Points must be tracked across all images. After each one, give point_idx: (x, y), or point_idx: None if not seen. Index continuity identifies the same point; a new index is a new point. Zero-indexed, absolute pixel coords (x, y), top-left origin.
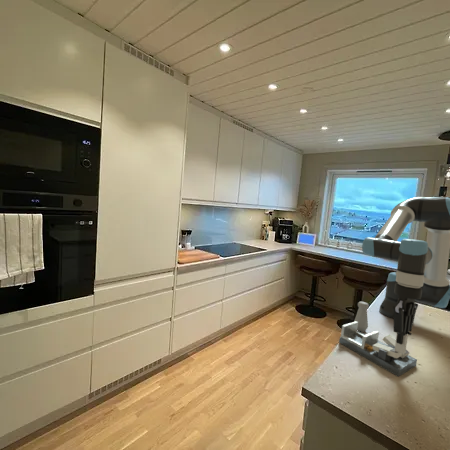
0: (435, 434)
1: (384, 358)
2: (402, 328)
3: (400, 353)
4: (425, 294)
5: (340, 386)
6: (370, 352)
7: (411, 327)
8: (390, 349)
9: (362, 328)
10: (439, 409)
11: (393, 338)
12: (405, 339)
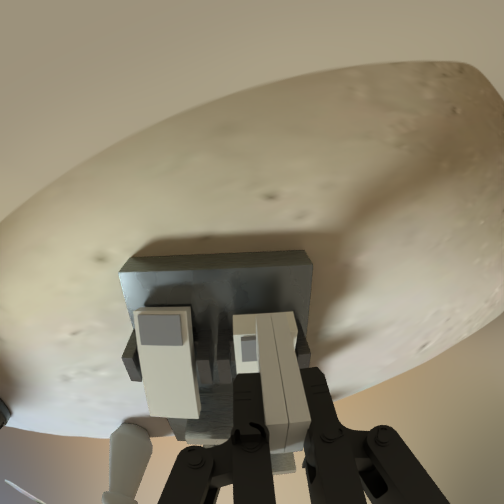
0: (467, 81)
1: (302, 333)
2: (405, 473)
3: (247, 326)
4: None
5: (481, 288)
6: None
7: (184, 478)
8: None
9: (140, 437)
10: (365, 81)
11: (146, 397)
12: (297, 393)
